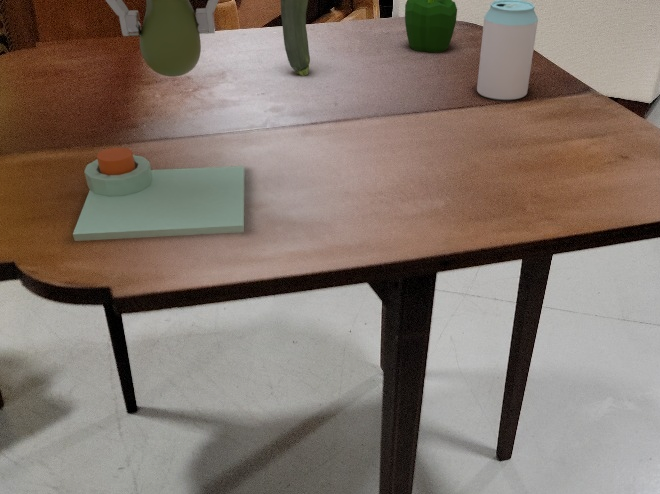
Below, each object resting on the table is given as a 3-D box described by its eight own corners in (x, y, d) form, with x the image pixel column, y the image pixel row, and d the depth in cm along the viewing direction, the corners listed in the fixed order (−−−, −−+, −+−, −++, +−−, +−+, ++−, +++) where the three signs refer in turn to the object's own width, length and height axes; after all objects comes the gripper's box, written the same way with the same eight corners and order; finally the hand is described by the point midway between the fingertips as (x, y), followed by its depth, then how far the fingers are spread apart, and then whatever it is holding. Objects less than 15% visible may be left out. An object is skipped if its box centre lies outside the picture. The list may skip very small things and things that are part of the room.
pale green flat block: (72, 245, 70) (65, 216, 68) (96, 181, 81) (90, 155, 79) (244, 236, 71) (241, 208, 69) (244, 174, 82) (242, 149, 80)
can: (480, 104, 101) (490, 10, 93) (472, 87, 106) (481, -3, 99) (531, 104, 101) (545, 10, 93) (520, 87, 106) (533, -3, 99)
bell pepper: (398, 44, 124) (400, -21, 117) (445, 42, 125) (450, -23, 119) (410, 59, 117) (413, -10, 111) (459, 56, 118) (465, -12, 112)
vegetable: (281, 79, 109) (271, -76, 96) (287, 70, 112) (279, -81, 100) (310, 80, 108) (305, -75, 96) (316, 71, 112) (311, -80, 99)
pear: (213, 78, 66) (197, -46, 60) (156, 88, 64) (134, -39, 58) (192, 62, 70) (175, -56, 64) (137, 71, 68) (115, -50, 62)
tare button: (97, 178, 75) (94, 162, 74) (103, 163, 78) (99, 148, 77) (133, 176, 76) (130, 160, 75) (137, 162, 78) (134, 146, 77)
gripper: (-10, -153, 53) (42, 47, 62) (273, -155, 55) (285, 39, 64) (12, -159, 58) (56, 27, 67) (271, -160, 60) (282, 20, 68)
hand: (170, 33), depth 65 cm, fingers closed on pear, 5 cm apart
